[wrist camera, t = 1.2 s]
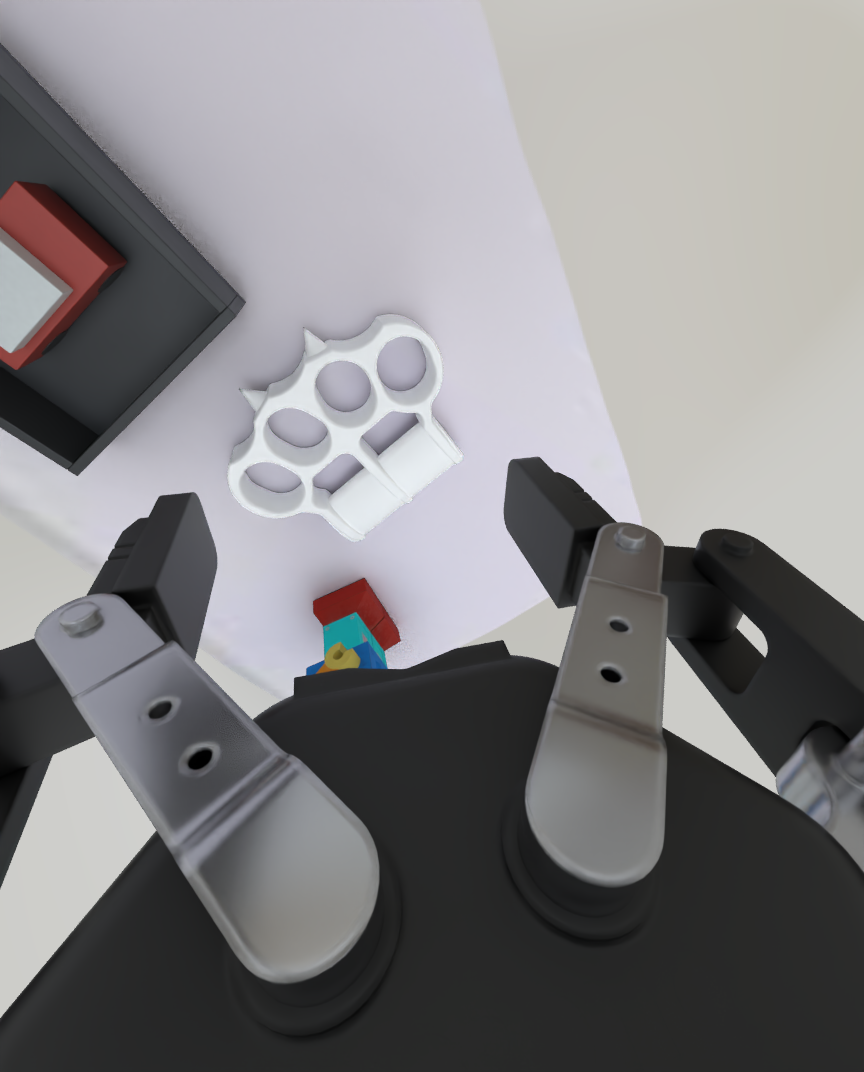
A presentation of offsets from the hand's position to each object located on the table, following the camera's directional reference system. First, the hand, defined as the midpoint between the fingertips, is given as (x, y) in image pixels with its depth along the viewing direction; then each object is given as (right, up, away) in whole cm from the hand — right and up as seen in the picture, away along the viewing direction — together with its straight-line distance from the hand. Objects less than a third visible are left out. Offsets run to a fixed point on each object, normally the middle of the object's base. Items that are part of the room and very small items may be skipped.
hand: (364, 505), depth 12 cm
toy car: (-20, +14, +14) cm, 28 cm away
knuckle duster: (-5, +8, +24) cm, 25 cm away
